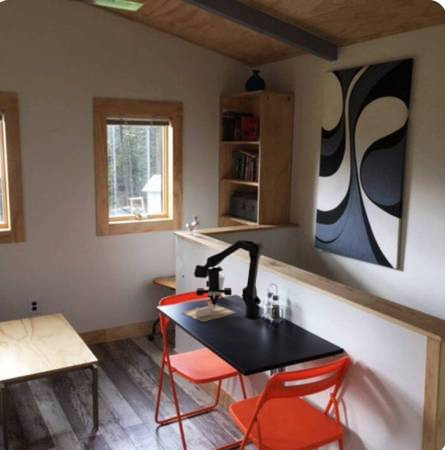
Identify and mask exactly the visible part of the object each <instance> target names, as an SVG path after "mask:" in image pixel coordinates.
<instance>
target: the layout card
mask: <svg viewBox="0 0 445 450" xmlns="http://www.w3.org/2000/svg"><path fill="white" fill-rule="evenodd" d="M205 307H206V306H203V307H198V308H199V309H201V308H205ZM182 313H183V315H184V316H187V315H188V316H187V317H189V316H190V318H192V319H194V320H196V319H197V321H199V322H201V321H202V323H204V322H207V321H211V319H212V320H216V319H220V318H222V317H227V316H231V315H235V314H237V312H236V311H233V310H230V309H228V308H225V307H222V306H220V305H218V304H216V305H215V307H214V315H211V314H210V315H206V316H203V317H199V318H196V308H195V309H190V310H186V311H182V312H181V314H182ZM203 321H204V322H203Z"/></svg>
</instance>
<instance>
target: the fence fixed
mask: <svg viewBox="0 0 445 450" xmlns="http://www.w3.org/2000/svg"><path fill="white" fill-rule="evenodd" d="M204 307H205V308H203V307H196V308H195V309H196V318H199V317H203V316H206V315H210V314H211V315H214V304H213V303H212V304H211V305H210V306H209V307H207V306H204ZM199 308H201V309H199Z"/></svg>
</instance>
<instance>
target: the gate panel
mask: <svg viewBox="0 0 445 450" xmlns="http://www.w3.org/2000/svg"><path fill="white" fill-rule="evenodd" d="M206 303H207V306H206V307H209V306H210V305H211V304H213V303H212V301H211V299H210V298H207V301H206Z"/></svg>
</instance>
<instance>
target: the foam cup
mask: <svg viewBox="0 0 445 450" xmlns="http://www.w3.org/2000/svg"><path fill="white" fill-rule="evenodd" d="M207 281H209V277H207ZM224 282H225V275H224V274H222V273H219V284H220V289H219V290H224ZM210 292H213V291H210ZM215 292H216V291H215ZM213 294H214V299H215V293H213ZM222 294H223V293H221V295H220V297H218V298H219V299H221V298H222Z"/></svg>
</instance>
